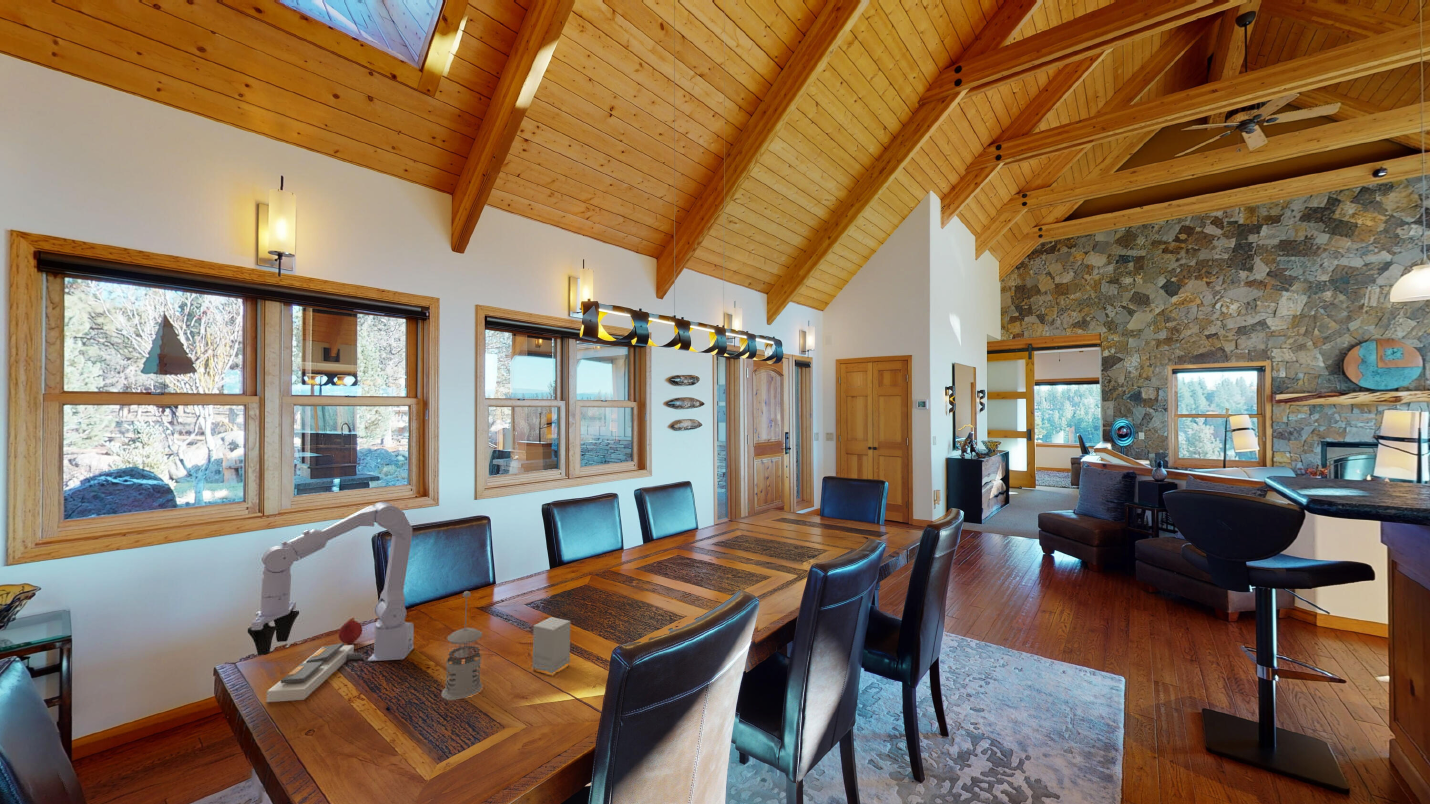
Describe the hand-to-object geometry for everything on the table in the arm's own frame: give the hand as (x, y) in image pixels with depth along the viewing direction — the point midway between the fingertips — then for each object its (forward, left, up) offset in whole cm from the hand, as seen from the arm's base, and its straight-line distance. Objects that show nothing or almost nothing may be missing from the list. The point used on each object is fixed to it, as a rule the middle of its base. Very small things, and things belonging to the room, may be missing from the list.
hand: (273, 647), depth 134 cm
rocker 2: (-8, -9, -6) cm, 13 cm away
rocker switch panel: (-10, -4, -9) cm, 14 cm away
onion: (-8, -23, -10) cm, 26 cm away
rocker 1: (-8, +2, -6) cm, 10 cm away
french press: (-48, +9, -10) cm, 50 cm away
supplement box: (-69, +1, -10) cm, 70 cm away
